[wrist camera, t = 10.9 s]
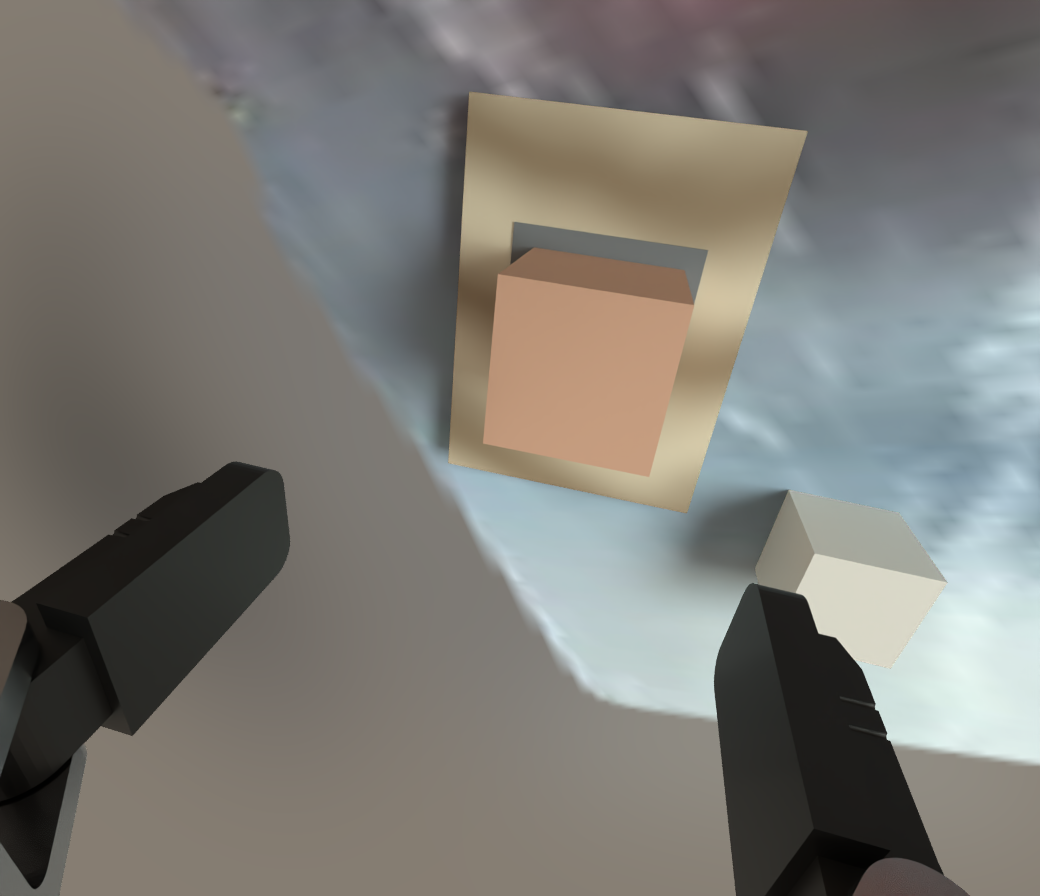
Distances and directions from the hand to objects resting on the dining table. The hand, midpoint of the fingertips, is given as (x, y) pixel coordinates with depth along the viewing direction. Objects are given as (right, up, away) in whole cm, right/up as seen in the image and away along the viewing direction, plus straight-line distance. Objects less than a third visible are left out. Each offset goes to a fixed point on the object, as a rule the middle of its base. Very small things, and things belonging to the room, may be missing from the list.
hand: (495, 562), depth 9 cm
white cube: (+15, -3, +18) cm, 24 cm away
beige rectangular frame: (+4, +8, +15) cm, 18 cm away
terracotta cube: (+4, +7, +14) cm, 16 cm away
